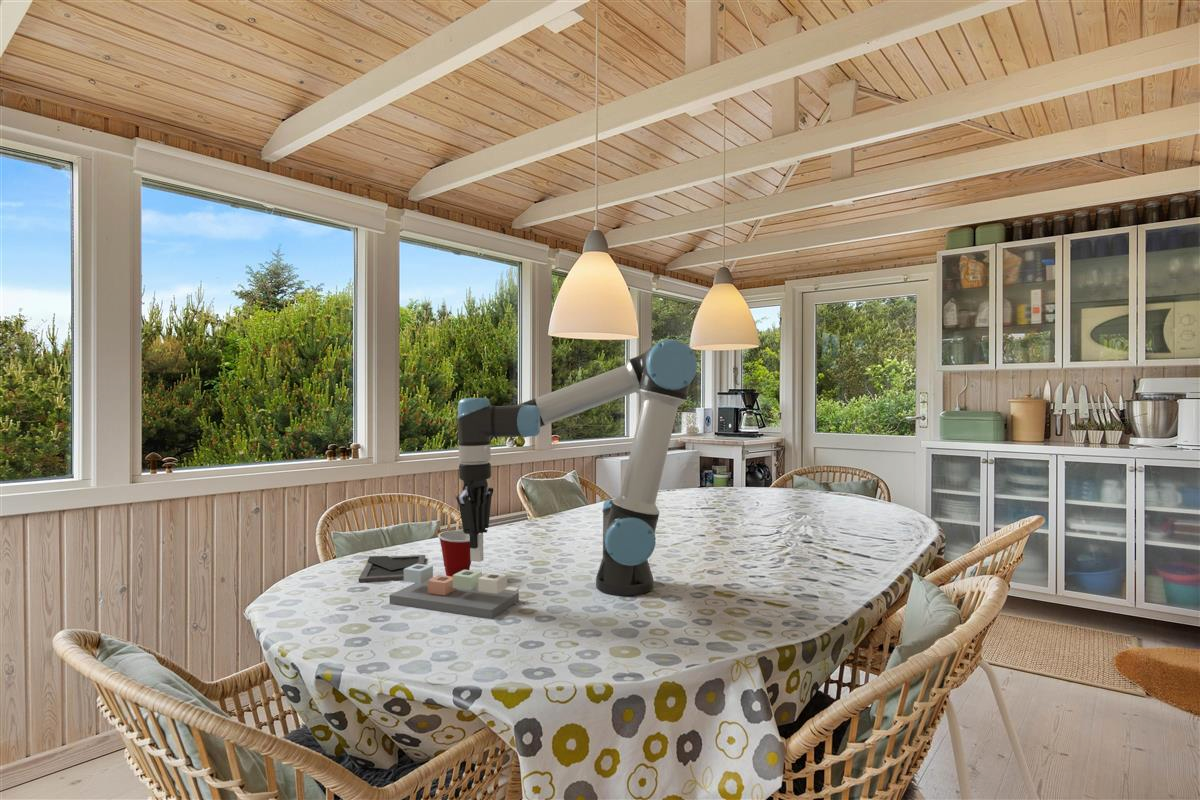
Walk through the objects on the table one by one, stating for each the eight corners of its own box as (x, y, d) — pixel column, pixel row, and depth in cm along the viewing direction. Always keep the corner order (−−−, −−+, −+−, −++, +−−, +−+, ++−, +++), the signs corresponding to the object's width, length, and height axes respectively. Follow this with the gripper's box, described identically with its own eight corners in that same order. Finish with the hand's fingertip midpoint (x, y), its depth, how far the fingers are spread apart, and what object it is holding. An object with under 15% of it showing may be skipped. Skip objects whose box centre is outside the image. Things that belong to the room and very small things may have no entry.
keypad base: (518, 600, 151) (518, 588, 151) (491, 618, 139) (492, 605, 139) (422, 587, 161) (422, 575, 161) (389, 603, 148) (389, 590, 148)
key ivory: (507, 587, 148) (507, 574, 148) (496, 593, 143) (496, 580, 143) (489, 584, 149) (489, 571, 149) (478, 591, 145) (478, 577, 145)
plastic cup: (468, 585, 163) (468, 539, 163) (430, 582, 165) (430, 537, 165) (484, 573, 173) (484, 530, 173) (448, 570, 176) (448, 528, 175)
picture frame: (369, 562, 185) (358, 584, 164) (369, 556, 185) (358, 577, 164) (425, 559, 188) (421, 580, 168) (425, 553, 188) (421, 573, 168)
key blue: (433, 577, 155) (433, 565, 155) (420, 583, 150) (420, 570, 150) (416, 575, 157) (416, 563, 156) (403, 581, 152) (403, 568, 152)
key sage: (481, 584, 150) (481, 571, 150) (470, 590, 145) (470, 576, 145) (464, 581, 152) (464, 568, 152) (452, 587, 147) (452, 574, 147)
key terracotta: (456, 589, 152) (457, 576, 152) (445, 595, 148) (445, 582, 148) (439, 586, 154) (439, 574, 154) (427, 593, 149) (427, 580, 149)
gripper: (476, 459, 155) (478, 552, 155) (445, 465, 143) (447, 566, 143) (502, 459, 152) (504, 554, 153) (473, 466, 140) (475, 569, 141)
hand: (477, 560), depth 148 cm, fingers closed
